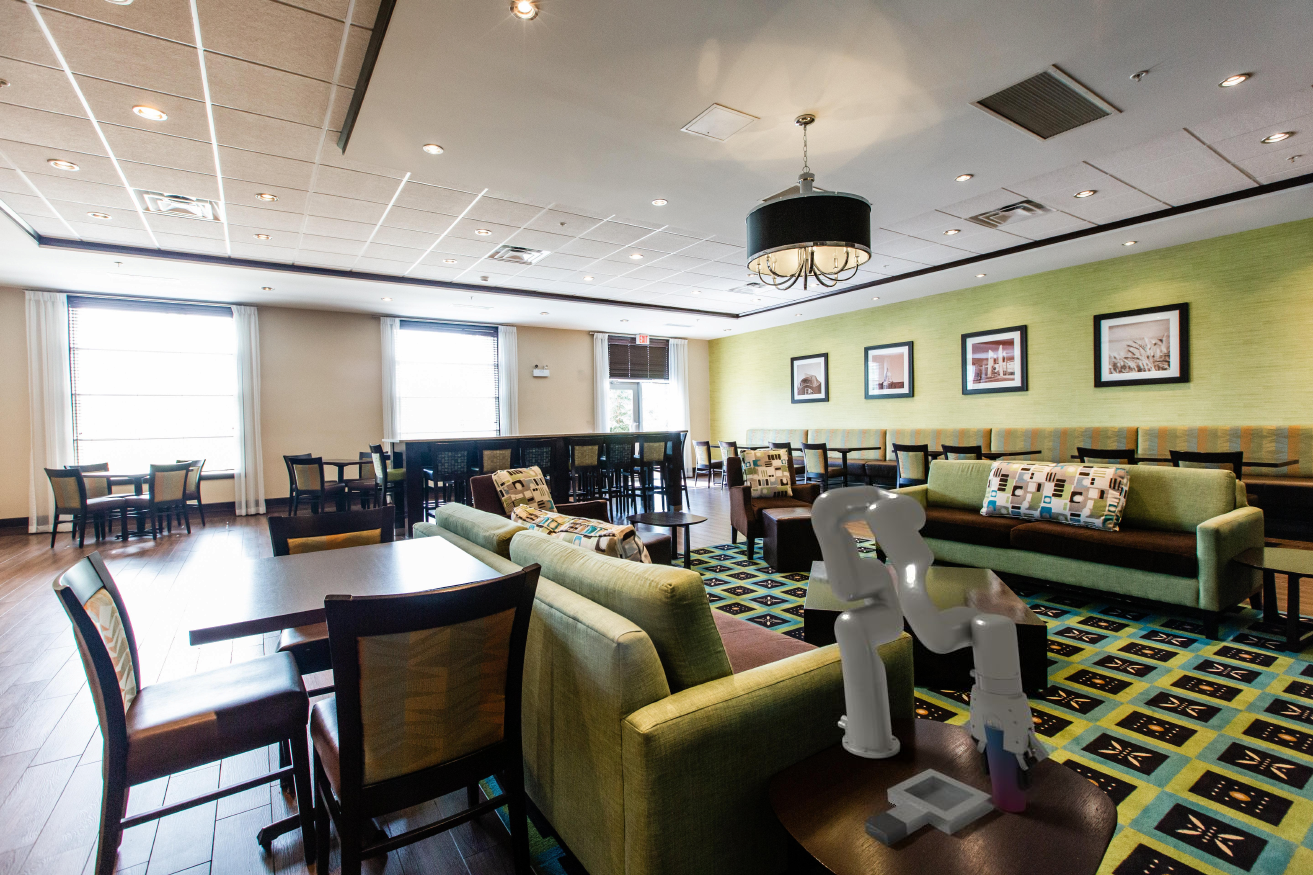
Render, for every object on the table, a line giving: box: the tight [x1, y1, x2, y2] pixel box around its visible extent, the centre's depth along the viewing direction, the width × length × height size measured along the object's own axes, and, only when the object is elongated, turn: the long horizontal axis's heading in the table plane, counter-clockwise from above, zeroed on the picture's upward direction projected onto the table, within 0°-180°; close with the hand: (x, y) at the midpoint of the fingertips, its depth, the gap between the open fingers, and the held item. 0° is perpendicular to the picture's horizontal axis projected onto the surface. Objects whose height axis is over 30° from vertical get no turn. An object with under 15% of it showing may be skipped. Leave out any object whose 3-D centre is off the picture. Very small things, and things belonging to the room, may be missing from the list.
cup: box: [984, 724, 1027, 813], centre depth 111 cm, size 7×7×15 cm
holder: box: [864, 768, 995, 847], centre depth 110 cm, size 24×13×2 cm, turn 120°
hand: (1007, 779), depth 111 cm, fingers closed on cup, 6 cm apart
